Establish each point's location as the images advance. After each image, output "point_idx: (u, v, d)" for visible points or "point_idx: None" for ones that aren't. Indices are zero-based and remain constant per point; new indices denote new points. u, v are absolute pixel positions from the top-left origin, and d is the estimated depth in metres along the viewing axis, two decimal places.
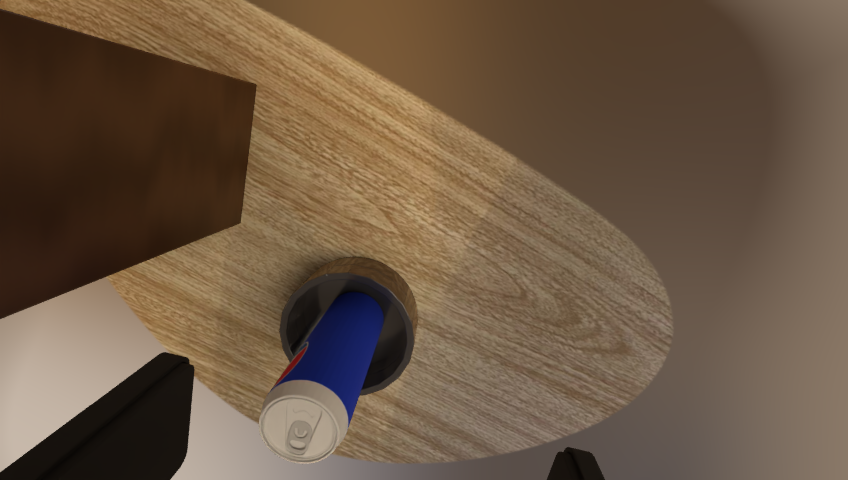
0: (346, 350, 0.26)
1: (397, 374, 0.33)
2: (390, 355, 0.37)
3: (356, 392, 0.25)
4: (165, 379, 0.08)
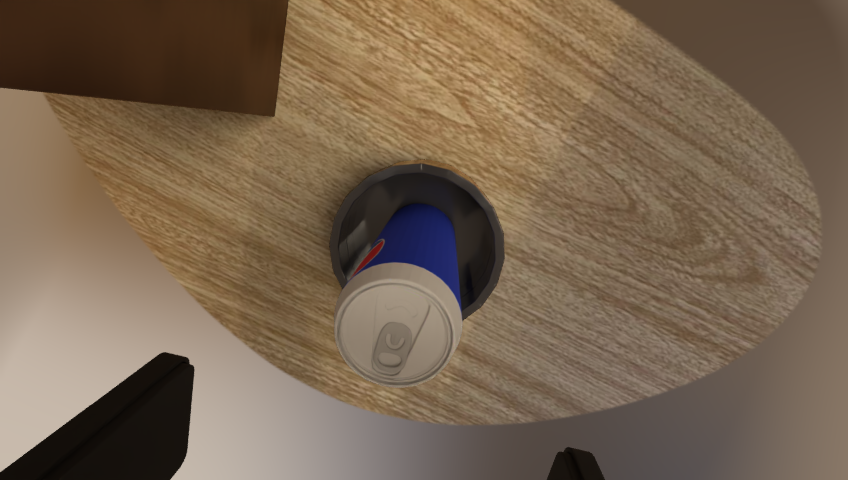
0: (437, 245, 0.19)
1: (480, 302, 0.26)
2: (461, 287, 0.30)
3: None
4: (165, 379, 0.08)
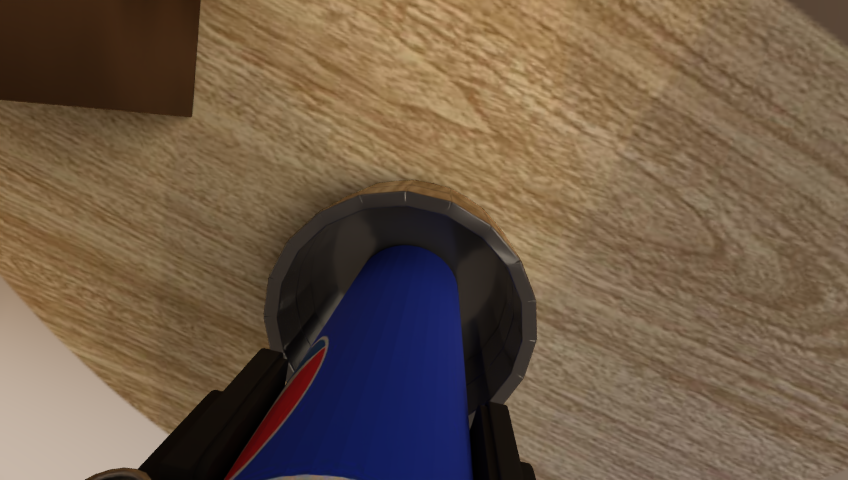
0: (429, 357, 0.10)
1: (498, 402, 0.17)
2: (466, 362, 0.21)
3: None
4: (271, 371, 0.09)
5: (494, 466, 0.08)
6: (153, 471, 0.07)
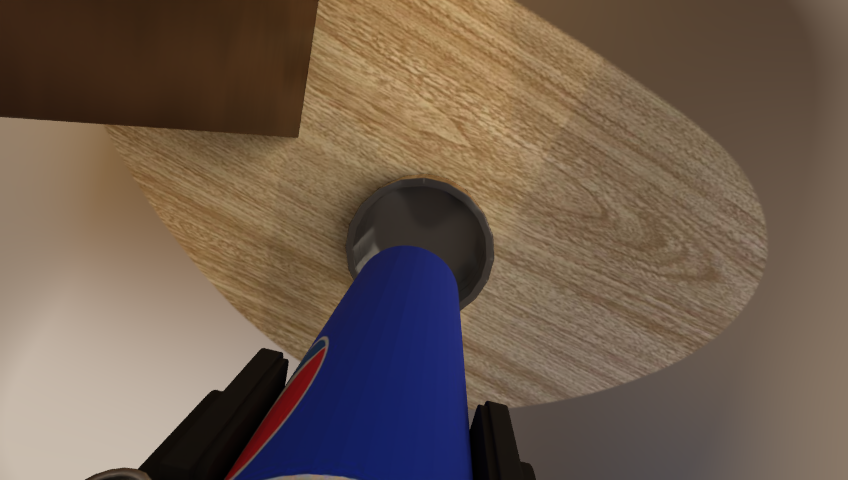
0: (428, 357, 0.10)
1: (474, 295, 0.30)
2: (457, 284, 0.34)
3: None
4: (271, 371, 0.09)
5: (494, 466, 0.08)
6: (153, 471, 0.07)
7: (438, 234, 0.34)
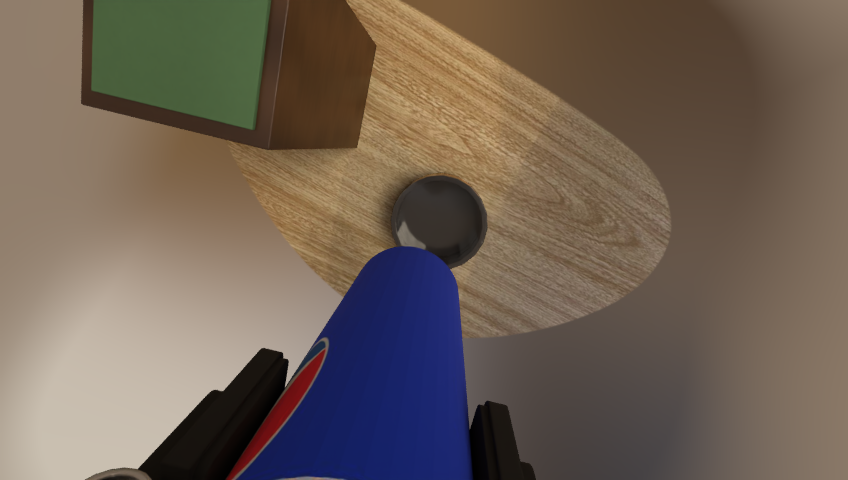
0: (429, 358, 0.10)
1: (474, 252, 0.46)
2: (463, 248, 0.50)
3: None
4: (271, 371, 0.09)
5: (494, 466, 0.08)
6: (153, 471, 0.07)
7: (450, 214, 0.50)
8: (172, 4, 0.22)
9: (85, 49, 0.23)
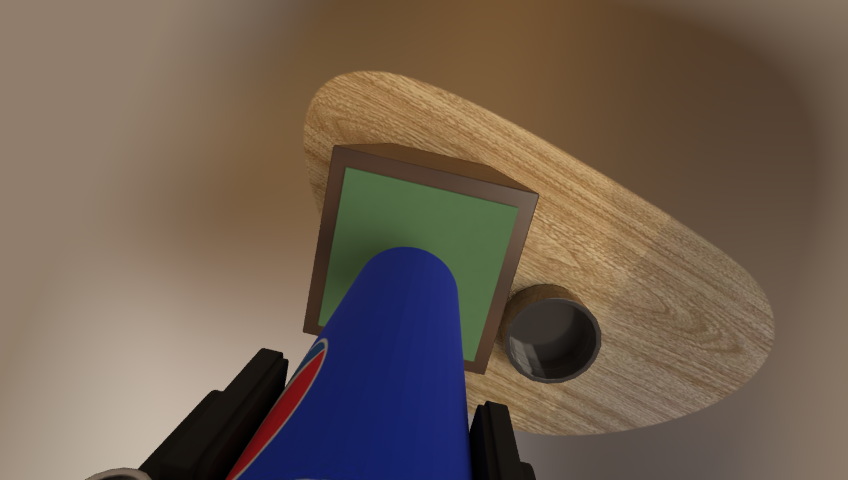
0: (428, 360, 0.10)
1: (586, 368, 0.47)
2: (566, 354, 0.51)
3: None
4: (271, 372, 0.09)
5: (494, 466, 0.08)
6: (153, 471, 0.07)
7: (555, 322, 0.50)
8: None
9: (313, 287, 0.24)
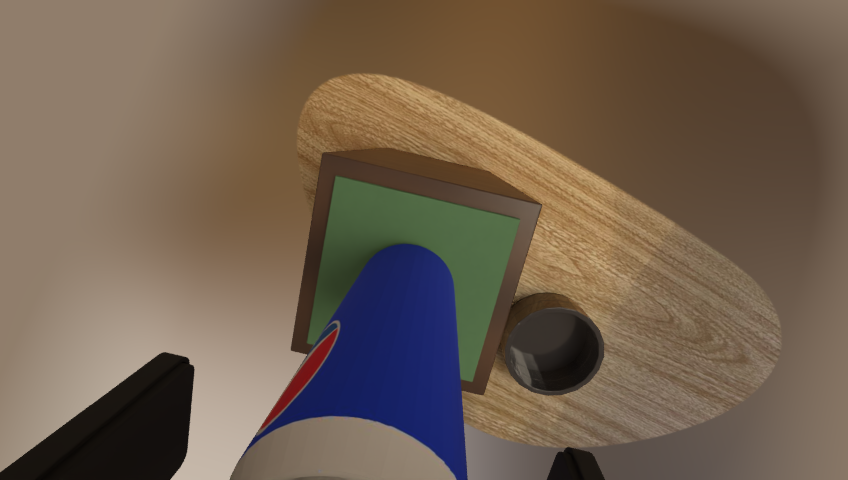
0: (426, 336, 0.12)
1: (588, 379, 0.46)
2: (568, 365, 0.50)
3: (464, 437, 0.10)
4: (165, 379, 0.08)
5: None
6: None
7: (556, 332, 0.49)
8: None
9: (302, 303, 0.23)
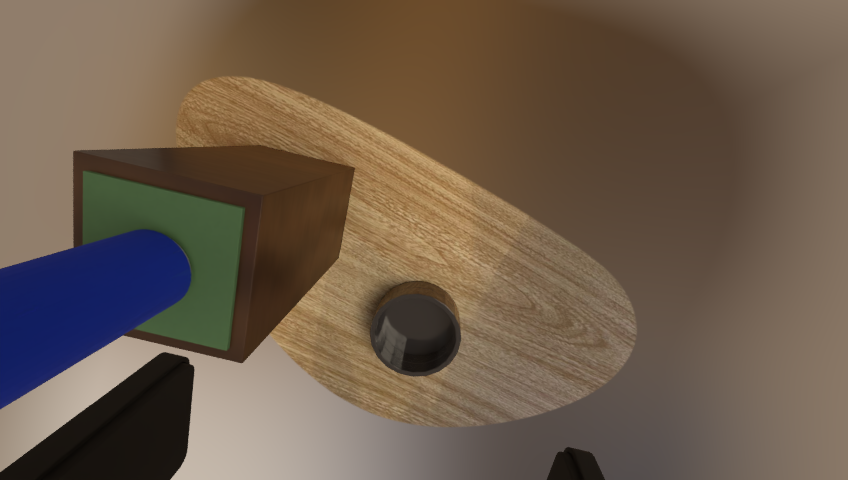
0: (4, 294, 0.15)
1: (449, 361, 0.49)
2: (440, 349, 0.53)
3: None
4: (165, 379, 0.08)
5: None
6: None
7: (427, 318, 0.52)
8: None
9: None
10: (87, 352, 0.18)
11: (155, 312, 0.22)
